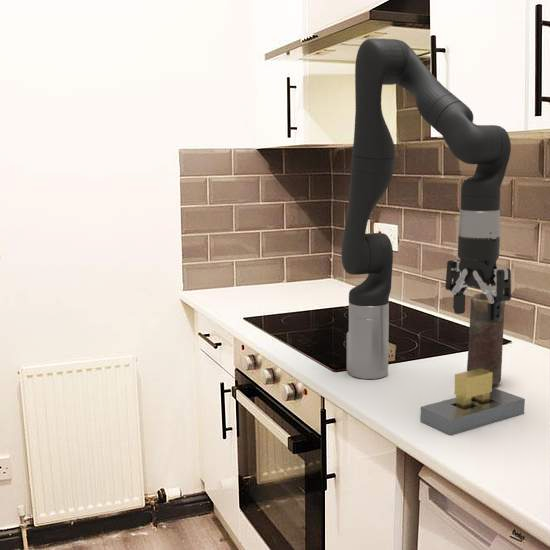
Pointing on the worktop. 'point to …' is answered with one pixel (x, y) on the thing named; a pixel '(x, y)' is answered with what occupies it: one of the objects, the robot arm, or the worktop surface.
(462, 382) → the yellow block
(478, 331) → the brown cylinder
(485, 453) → the worktop surface
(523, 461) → the worktop surface
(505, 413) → the grey slotted base
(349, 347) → the robot arm
